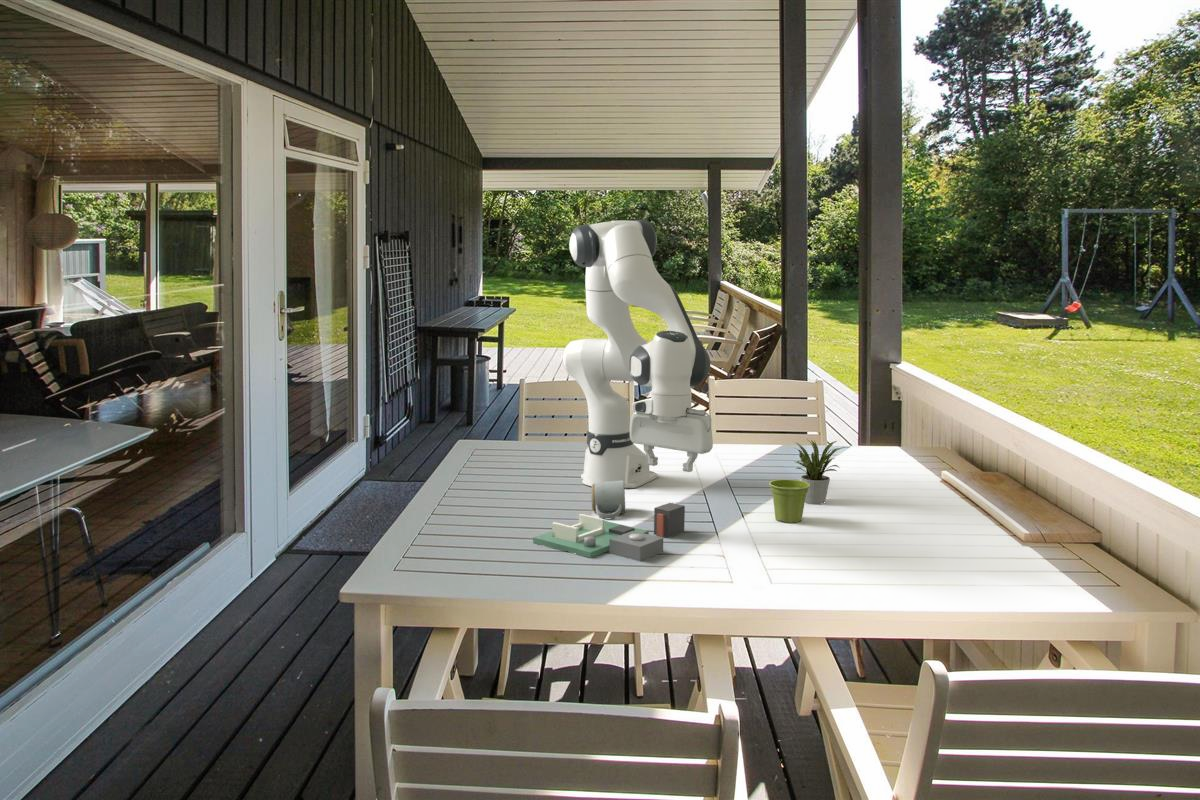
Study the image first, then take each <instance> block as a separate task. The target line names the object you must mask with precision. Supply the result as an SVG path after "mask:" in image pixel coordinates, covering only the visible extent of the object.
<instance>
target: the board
mask: <svg viewBox="0 0 1200 800" xmlns="http://www.w3.org/2000/svg"><path fill="white" fill-rule="evenodd" d="M631 531H636V532H640V533H645V534H649V533H650V532H649V530H647V529H642V528H639V527H638V528H637V527H633V526H629V525H625V524H620V523H616V522H612V521H607V520H606V519H603V518H601V517H596V516H593V515H588V514H584V513H579V514H578V522H577V523H572V524H571V525H567V524H563V523H560V522H556V521H553V522H551V531H549V532H546V533H542V534H538V535H537V536H534V537H532V543H533V544H536V545H539V544H540V546H543V545H544V547H547V548H551V547H552V549H554V548H556V549H555V550H558V549H560V550H559V551H562V550H564V551H563V552H566V551H568V552H567V553H570V552H572V553H571V554H573V553H576V554H575V555H577V554H579V555H578V556H581V555H582V556H581V557H585V558H588V557H589V559H591V558H594V557H597V556H599V555H602V554H604V552H605V553H607V551H608V552H609V539H611V538H614V537H617V536H620V535H623V534H625V533H628V532H631ZM649 535H650V534H649ZM596 555H597V556H596Z"/></svg>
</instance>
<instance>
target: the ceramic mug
mask: <svg viewBox="0 0 1200 800" xmlns="http://www.w3.org/2000/svg"><path fill="white" fill-rule="evenodd" d="M625 491H626V490H625V488H624V481H623V480H622V481H610V482H598V483H594V484H593V485H592V486H591V511H593V512H594V513H596V514H597V516H598V518H602V519H603V518H613V519H616V518H618V516H620V514H625V513H626V495H625V493H626V492H625ZM604 512H610V513H604Z"/></svg>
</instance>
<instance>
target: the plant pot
mask: <svg viewBox="0 0 1200 800" xmlns="http://www.w3.org/2000/svg"><path fill="white" fill-rule="evenodd" d="M768 486H770V491H771V492H772V500H773V509H774V519H775V520H776V521H779V522H780V521H782V522H784V523H789V524H790V523H793V524H795V523H798V522H799V521H800V522H801V521H802V520H803V515H804V510H805V509H804V508H805V503H806V502H805V498H806V493H807V492H808V488H809V487H810V484H809V483H807V482H804V481H802V480H800V479H799V480H797V479H785V478H784V479H782V478H781V479H774V480H771V481H769V482H768Z"/></svg>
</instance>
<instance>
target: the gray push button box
mask: <svg viewBox="0 0 1200 800" xmlns="http://www.w3.org/2000/svg"><path fill="white" fill-rule="evenodd" d="M608 553H609V554H611V553H612V554H611V555H614V554H616V555H615V556H618V555H619V557H622V556H623V557H622V558H626V557H627V559H630V558H631V560H634V559H635V560H634V561H638V562H641V561H643V560H646V559H649V558H651V557H653V556H656V555H658V554H661V553H664V537H659V536H657V535H654V534H645V533H640V532H636V531H631V532H628V533H625V534H623V535H620V536H617V537H614V538H611V539H609V551H608Z"/></svg>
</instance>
